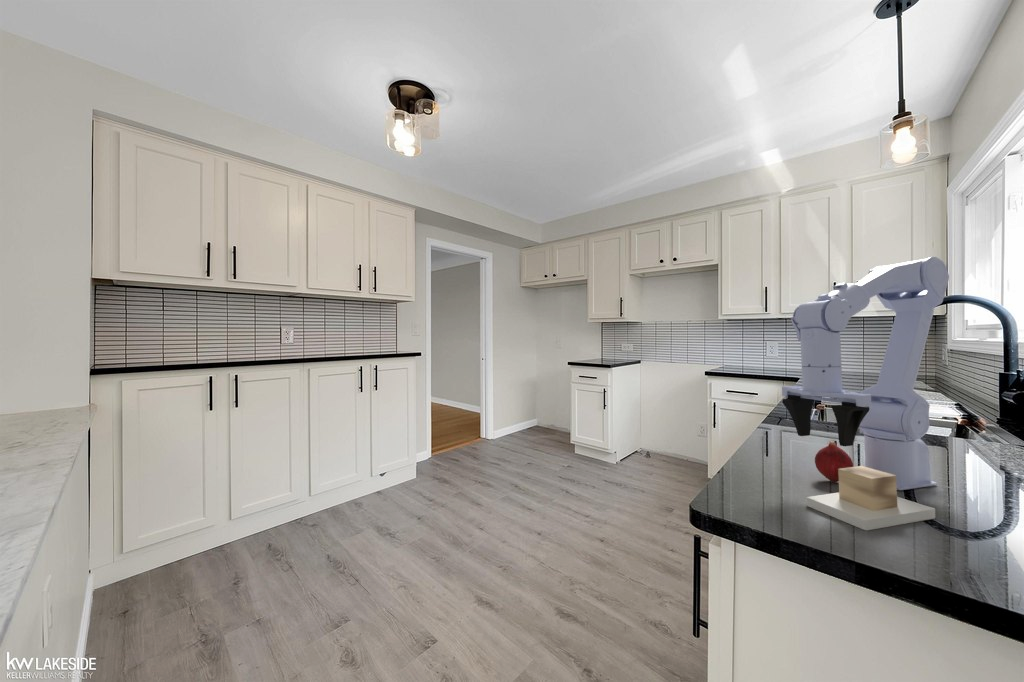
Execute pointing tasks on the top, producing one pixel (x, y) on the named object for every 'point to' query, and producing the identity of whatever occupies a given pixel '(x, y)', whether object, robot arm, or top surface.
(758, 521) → the top surface
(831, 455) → the onion
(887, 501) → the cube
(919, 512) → the cutting board
